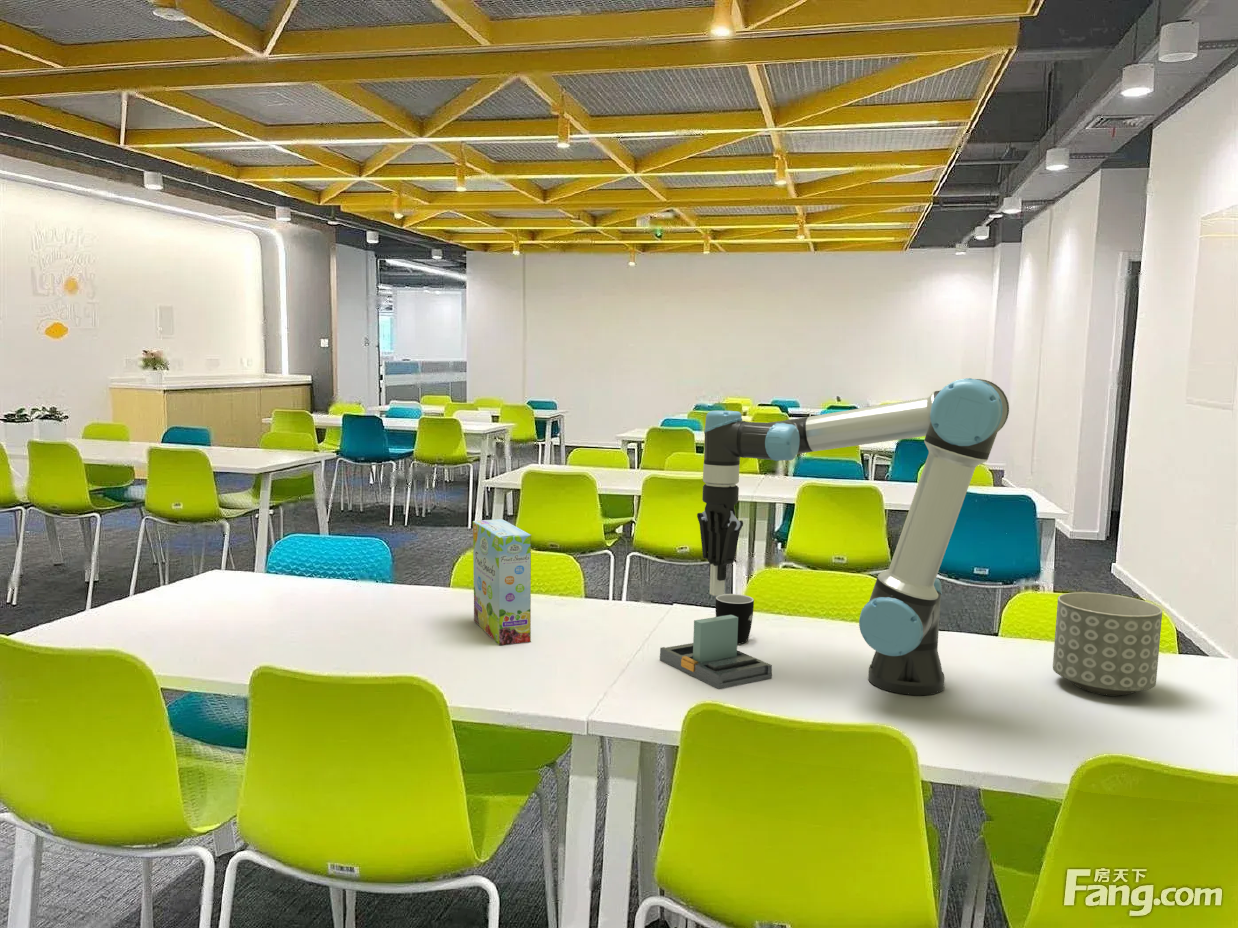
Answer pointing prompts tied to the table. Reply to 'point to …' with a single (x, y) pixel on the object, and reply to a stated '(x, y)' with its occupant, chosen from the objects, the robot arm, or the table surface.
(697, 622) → the block
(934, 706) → the table surface
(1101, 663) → the planter
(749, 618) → the mug
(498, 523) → the snack box
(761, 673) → the rack
